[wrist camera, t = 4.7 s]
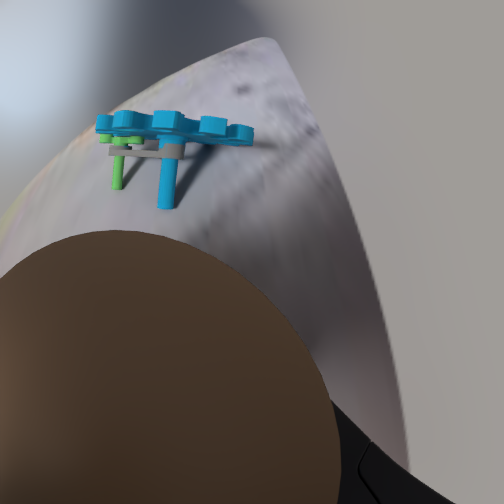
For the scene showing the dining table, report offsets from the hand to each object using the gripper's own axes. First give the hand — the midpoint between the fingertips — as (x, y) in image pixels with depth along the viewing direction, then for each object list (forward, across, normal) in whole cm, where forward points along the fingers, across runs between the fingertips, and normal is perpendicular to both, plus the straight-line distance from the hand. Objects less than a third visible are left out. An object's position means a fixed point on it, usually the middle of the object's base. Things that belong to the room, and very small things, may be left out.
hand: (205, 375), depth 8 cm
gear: (+15, +5, -5) cm, 16 cm away
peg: (+4, 0, +6) cm, 7 cm away
